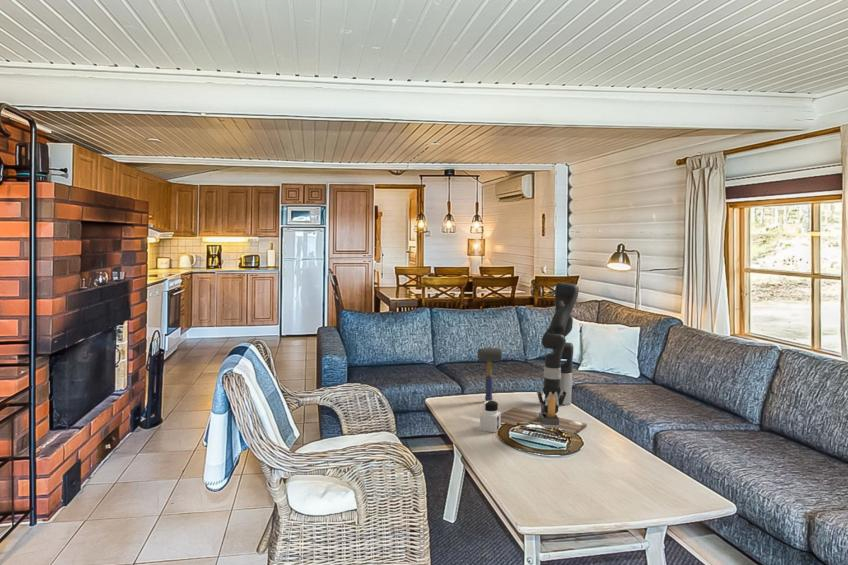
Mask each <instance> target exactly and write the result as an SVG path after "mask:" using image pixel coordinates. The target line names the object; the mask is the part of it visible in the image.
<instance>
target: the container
mask: <svg viewBox="0 0 848 565" xmlns="http://www.w3.org/2000/svg"><path fill="white" fill-rule="evenodd" d="M498 407H499V402H498V401H495V400H491V401H486V400H485V401H484V402H483V411H482V412H481V413H480V415H479V417H480V418H479V430H480V431H483V432H489V433H497V432H498V430H500V428H501V425H500V424H502V422H501V414H502V412H501V411H498V410H499V409H498Z"/></svg>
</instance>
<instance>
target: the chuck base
mask: <svg viewBox="0 0 848 565" xmlns="http://www.w3.org/2000/svg"><path fill="white" fill-rule="evenodd" d="M537 413H538V412H535V411H530V410H527V409H521V408H517V407H512V408H510V409H508V410H505V411H504V412H501V424H500V426H503V425H505V424H506V425H510V426H515V425H517V423H519V422H539V419H537ZM558 418H559V428H561V429H563V430H564V431H565V432H567V433H568V434H569V436H570V435H572V434H574V433H577V434H578V433H580V432H581V431H583V430H585V429H586V428H587V426H588V425H587V423H585V422H580V421H576V420H571V419H567V418H563V417H558Z"/></svg>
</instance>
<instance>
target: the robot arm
mask: <svg viewBox="0 0 848 565" xmlns="http://www.w3.org/2000/svg"><path fill="white" fill-rule="evenodd" d="M578 296H579V286H578V285H577V284H575V283H570V282H569V283H568V282H563V281H561V282H560V281H559V282H557V283H556V285H555V289H554V308H555V309H554V314H553V315H552V319H551V322H550V325H549V326H548V328H547V330H546V332H544V334H543V335H542V338H541V345H542V347H543V348H545V349H551V350H552V352H551V353H547V354H545V358H544V359H545V360H544V368H543V369H544V370H543V388H542V390H536V394H537V397H538V400H539V401H538V402H539V403H540V404H543V405H544V407H543V411H544V412H545V413H548V406H547V405H548V402H549V400H550V396H551V394H555V399H556V406H555V414H558V412H559V405H563V406H564V405H565V406H567V405H571V404H572V395H573V394H572V390H573V358H574V345H573V343H572V342H567V341H566V340H567V339H566V337H567V336H568V335H569V334H571V331H572V329H573V326H574V325H573V324H574V323H573V320H574V318H573V315H572V314H571V313H572V311H573V309H574V307H575V305H576V302H577V300H578ZM564 302H566V304H565V303H564ZM562 360H566V361H564V362H563V363H561V361H562ZM543 395H544V398H543Z"/></svg>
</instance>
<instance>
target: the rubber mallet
mask: <svg viewBox="0 0 848 565" xmlns="http://www.w3.org/2000/svg"><path fill="white" fill-rule="evenodd" d="M502 357H503V353H502V348H500V347H482V348H478V350H477V360H478V361H479V362H486V376H485V398H484V400H485V401H493V382H494V381H493V375H492V366H493V365H492V364H493V362H500V361H501V360H502V359H503V358H502Z"/></svg>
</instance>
